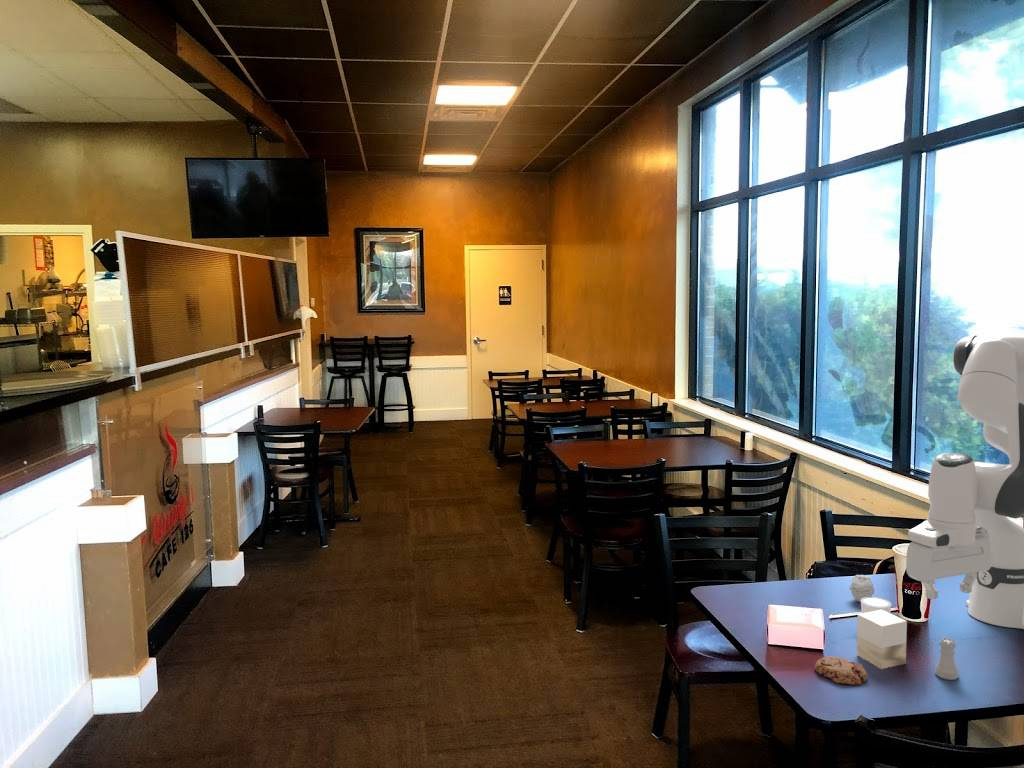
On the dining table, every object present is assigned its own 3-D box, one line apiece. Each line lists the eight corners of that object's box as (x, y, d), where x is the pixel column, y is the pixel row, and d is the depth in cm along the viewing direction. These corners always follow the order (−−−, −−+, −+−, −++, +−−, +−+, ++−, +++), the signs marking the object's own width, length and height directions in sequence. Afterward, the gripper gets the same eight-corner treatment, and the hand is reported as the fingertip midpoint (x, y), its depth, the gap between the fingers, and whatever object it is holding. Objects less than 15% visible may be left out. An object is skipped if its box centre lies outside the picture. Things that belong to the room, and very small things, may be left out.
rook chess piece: (954, 671, 164) (955, 636, 163) (961, 681, 160) (963, 645, 159) (932, 670, 165) (933, 634, 164) (938, 679, 161) (939, 643, 160)
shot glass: (894, 635, 182) (895, 607, 182) (863, 634, 184) (864, 606, 183) (886, 624, 189) (887, 597, 188) (856, 622, 191) (857, 595, 190)
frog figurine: (875, 598, 205) (876, 573, 205) (872, 608, 199) (873, 582, 199) (851, 595, 208) (851, 570, 208) (847, 603, 202) (848, 578, 202)
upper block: (881, 630, 174) (881, 609, 174) (906, 642, 168) (906, 621, 167) (857, 635, 172) (857, 614, 172) (881, 648, 166) (882, 626, 165)
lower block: (881, 651, 175) (881, 630, 175) (905, 664, 169) (906, 642, 168) (856, 656, 173) (857, 635, 172) (880, 669, 166) (881, 647, 166)
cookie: (818, 661, 171) (818, 648, 171) (869, 671, 166) (870, 658, 166) (810, 680, 163) (810, 666, 163) (864, 691, 158) (864, 677, 157)
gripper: (974, 522, 166) (972, 583, 167) (901, 532, 159) (899, 596, 161) (1001, 529, 160) (999, 593, 161) (926, 540, 153) (924, 607, 155)
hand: (948, 595), depth 161 cm, fingers open, 8 cm apart
